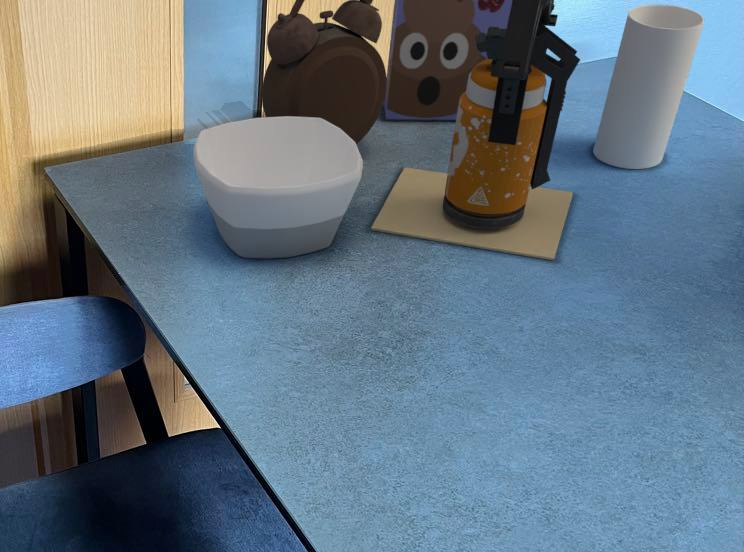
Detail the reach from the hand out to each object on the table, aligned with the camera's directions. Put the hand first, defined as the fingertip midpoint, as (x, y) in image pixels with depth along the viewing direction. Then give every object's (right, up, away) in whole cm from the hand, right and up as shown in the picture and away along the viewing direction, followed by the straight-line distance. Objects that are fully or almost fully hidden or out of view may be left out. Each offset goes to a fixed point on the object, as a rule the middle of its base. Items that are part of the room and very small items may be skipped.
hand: (513, 116), depth 108 cm
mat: (-2, -7, +9) cm, 12 cm away
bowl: (-25, -10, +7) cm, 28 cm away
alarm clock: (-18, +3, +20) cm, 28 cm away
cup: (+20, +3, +19) cm, 28 cm away
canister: (0, -8, +8) cm, 12 cm away
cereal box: (0, +12, +29) cm, 31 cm away
